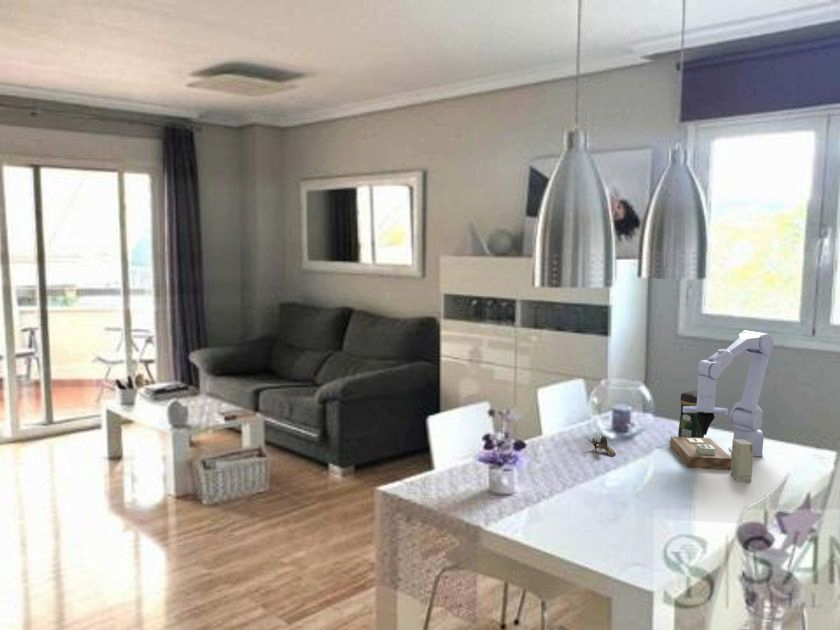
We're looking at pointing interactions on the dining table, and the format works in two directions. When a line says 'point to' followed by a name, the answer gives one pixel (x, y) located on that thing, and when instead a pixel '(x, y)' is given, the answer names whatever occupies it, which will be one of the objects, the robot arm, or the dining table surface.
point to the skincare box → (742, 460)
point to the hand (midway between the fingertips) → (703, 434)
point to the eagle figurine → (603, 446)
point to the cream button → (694, 441)
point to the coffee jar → (689, 417)
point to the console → (700, 460)
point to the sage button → (705, 449)
